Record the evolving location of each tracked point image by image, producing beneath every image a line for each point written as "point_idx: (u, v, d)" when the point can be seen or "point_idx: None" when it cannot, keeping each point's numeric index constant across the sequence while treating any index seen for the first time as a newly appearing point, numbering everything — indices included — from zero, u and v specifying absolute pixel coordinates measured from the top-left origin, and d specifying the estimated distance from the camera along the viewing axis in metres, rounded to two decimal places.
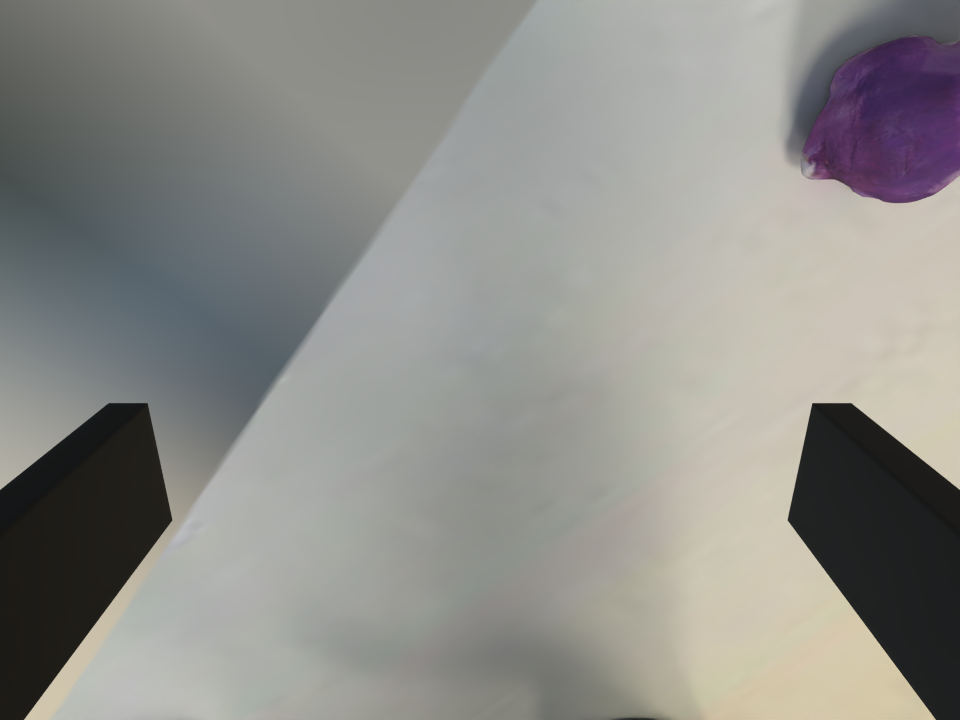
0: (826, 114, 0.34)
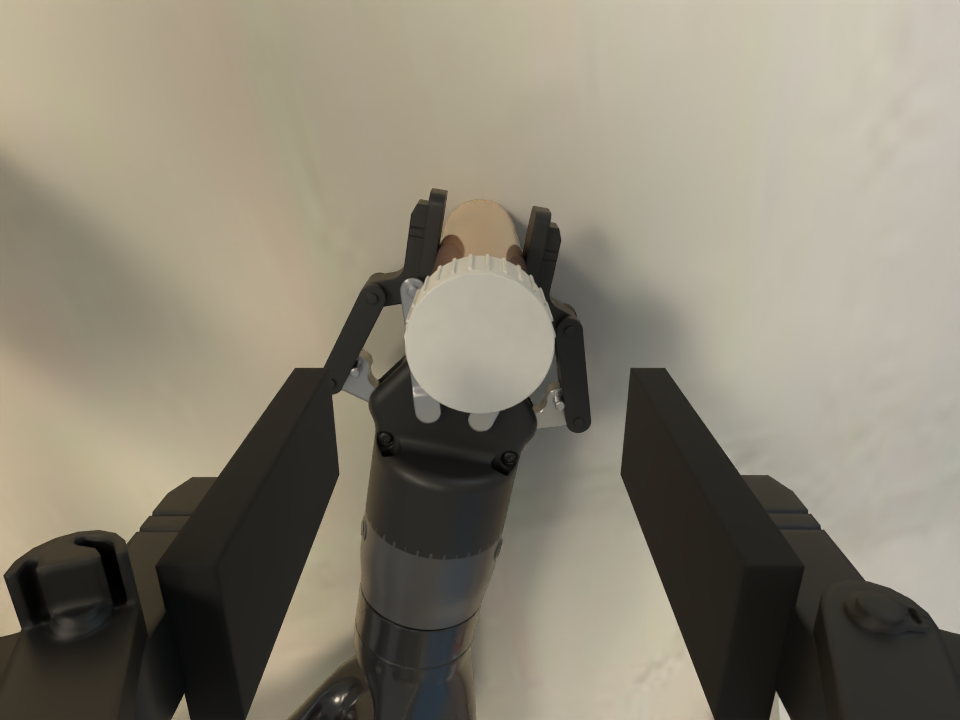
0: None
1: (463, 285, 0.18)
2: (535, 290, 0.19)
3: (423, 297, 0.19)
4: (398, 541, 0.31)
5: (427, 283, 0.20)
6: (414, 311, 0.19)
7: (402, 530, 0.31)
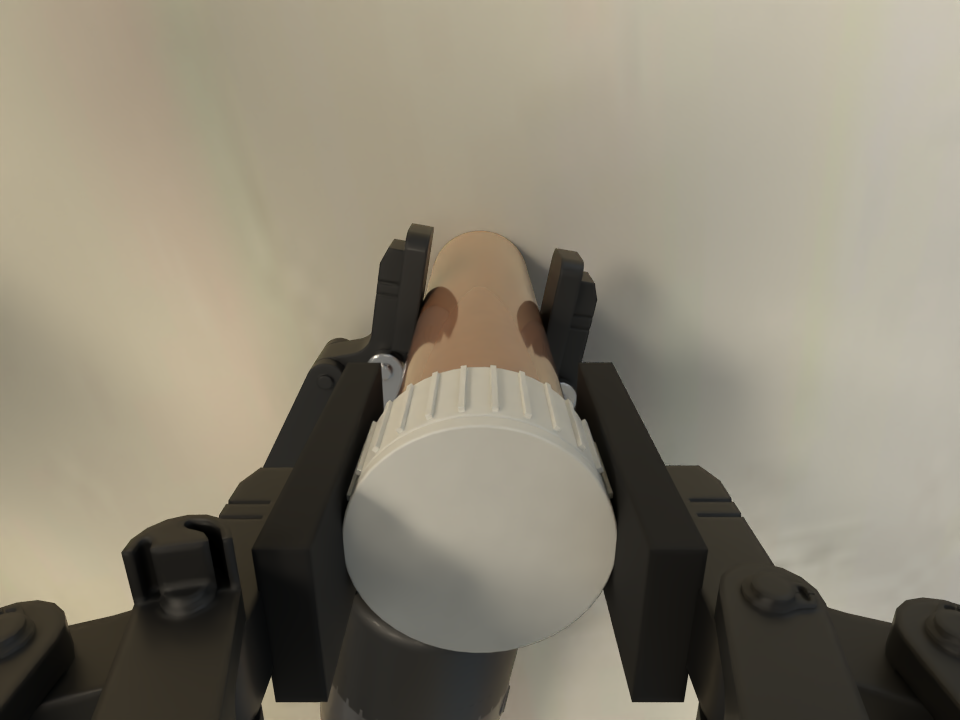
0: None
1: (448, 447, 0.10)
2: (583, 447, 0.10)
3: (373, 466, 0.10)
4: (366, 710, 0.23)
5: (386, 423, 0.11)
6: (357, 491, 0.10)
7: (371, 697, 0.22)
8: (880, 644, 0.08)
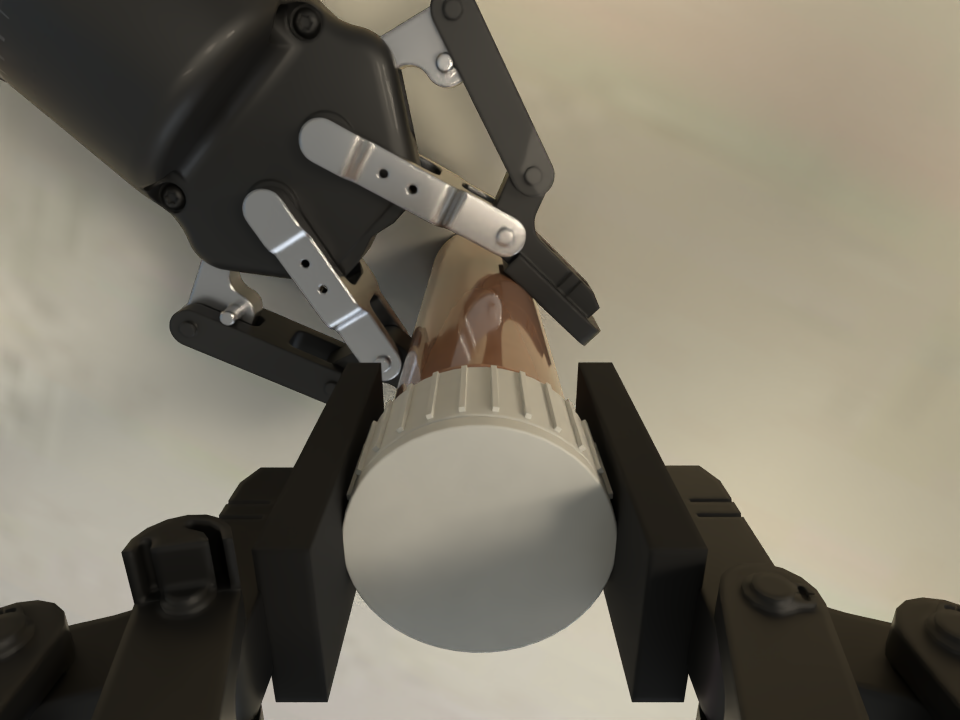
0: None
1: (449, 446, 0.10)
2: (583, 447, 0.10)
3: (373, 465, 0.10)
4: None
5: (386, 422, 0.11)
6: (357, 490, 0.10)
7: None
8: (880, 644, 0.08)
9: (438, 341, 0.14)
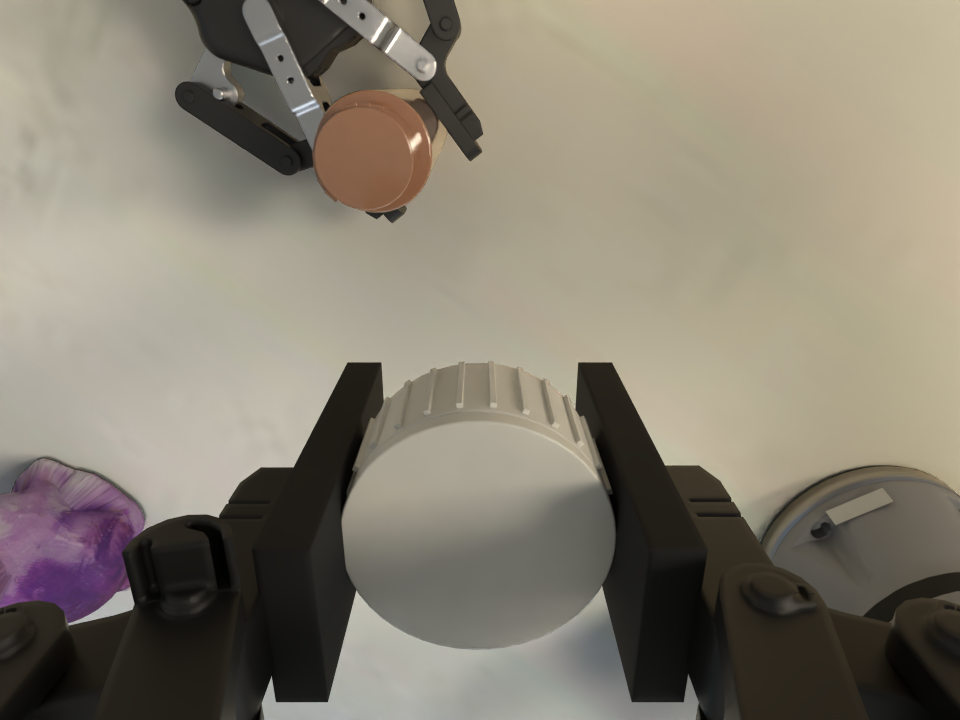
0: None
1: (446, 443, 0.10)
2: (581, 443, 0.10)
3: (371, 462, 0.10)
4: None
5: (383, 419, 0.11)
6: (354, 487, 0.10)
7: None
8: (880, 644, 0.08)
9: None
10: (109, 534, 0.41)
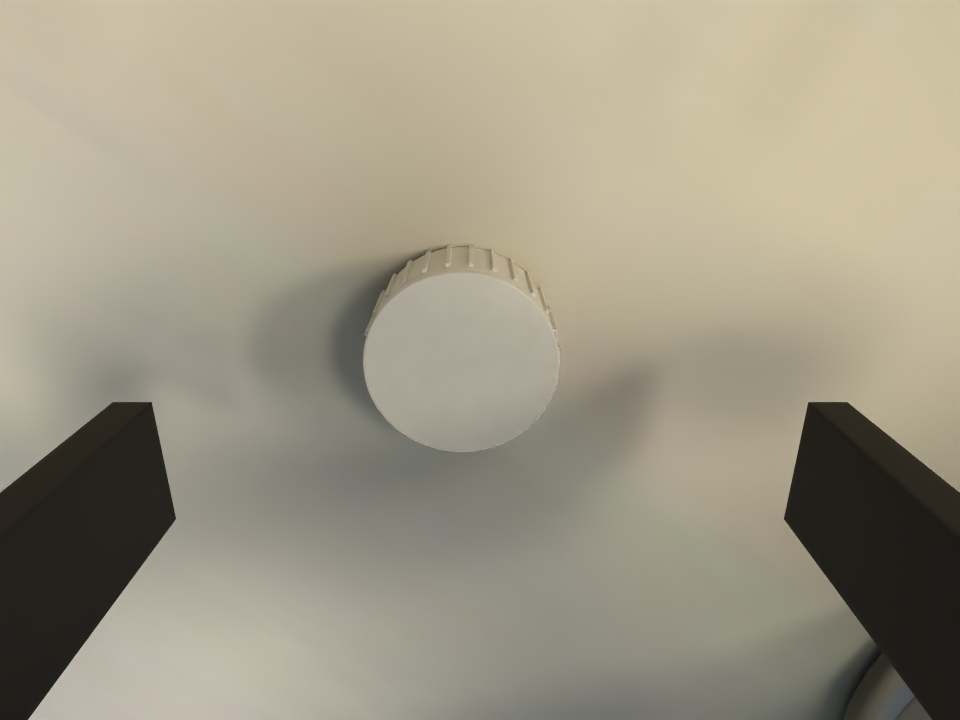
0: None
1: (438, 288, 0.14)
2: (534, 293, 0.14)
3: (385, 304, 0.14)
4: None
5: (393, 284, 0.15)
6: (374, 323, 0.14)
7: None
8: None
9: None
10: None
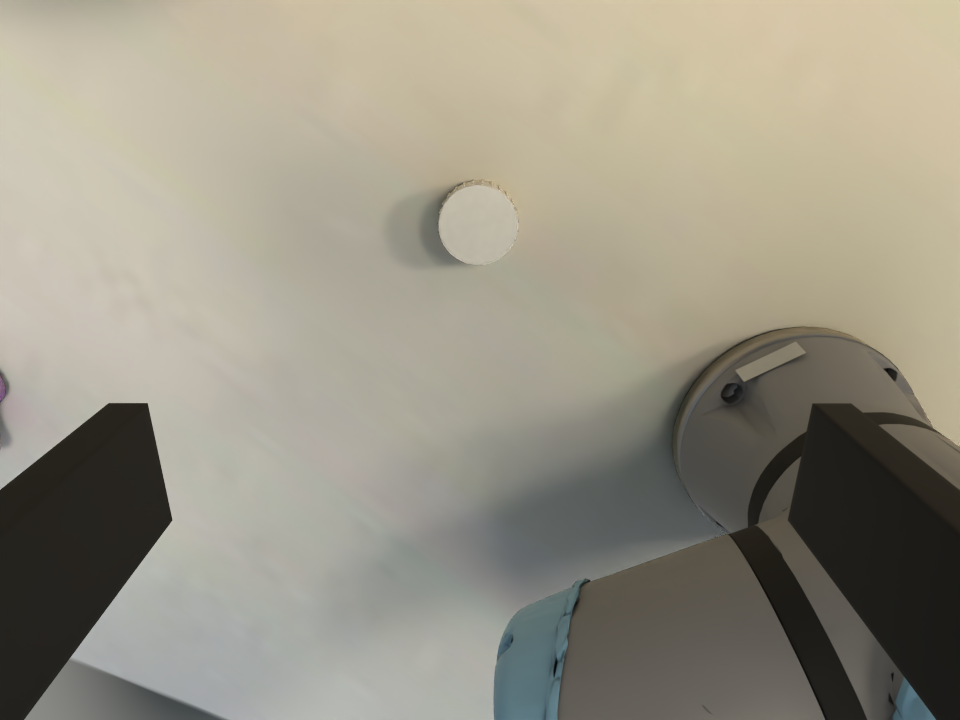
0: None
1: (469, 191, 0.35)
2: (507, 196, 0.36)
3: (448, 198, 0.36)
4: None
5: (449, 194, 0.37)
6: (443, 206, 0.36)
7: None
8: None
9: None
10: None
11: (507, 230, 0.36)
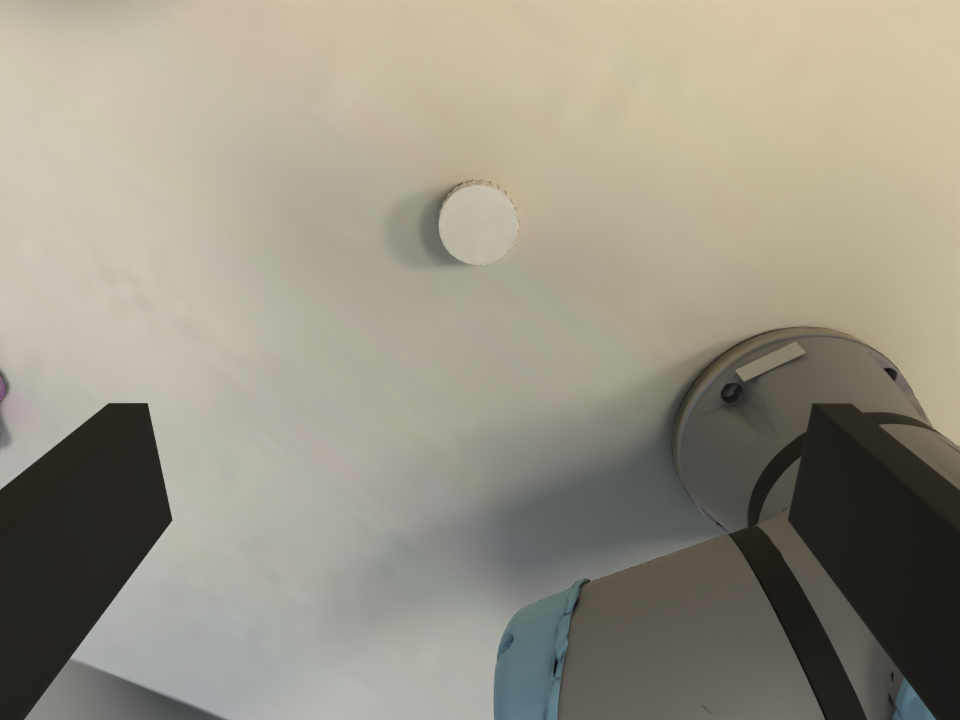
0: None
1: (469, 191, 0.35)
2: (507, 195, 0.36)
3: (448, 198, 0.36)
4: None
5: (449, 194, 0.37)
6: (443, 206, 0.36)
7: None
8: None
9: None
10: None
11: (507, 230, 0.36)
